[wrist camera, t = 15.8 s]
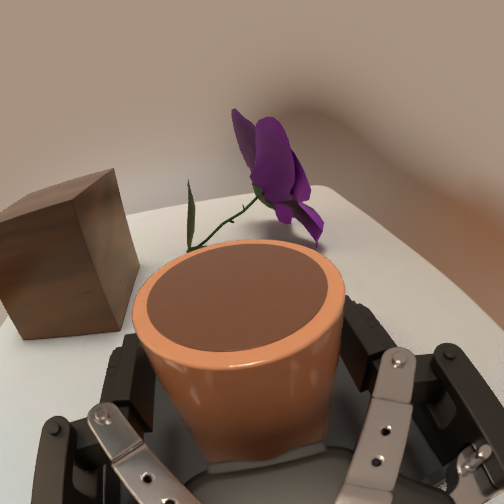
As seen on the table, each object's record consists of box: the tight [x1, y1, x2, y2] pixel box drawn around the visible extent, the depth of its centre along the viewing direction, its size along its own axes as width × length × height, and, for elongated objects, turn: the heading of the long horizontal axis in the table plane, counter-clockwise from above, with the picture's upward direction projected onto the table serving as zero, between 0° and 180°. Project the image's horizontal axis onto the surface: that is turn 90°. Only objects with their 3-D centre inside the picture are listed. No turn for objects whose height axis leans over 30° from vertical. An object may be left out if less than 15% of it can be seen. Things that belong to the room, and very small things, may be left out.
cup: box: [132, 239, 345, 463], centre depth 11 cm, size 6×6×9 cm
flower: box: [186, 109, 324, 253], centre depth 30 cm, size 15×15×14 cm
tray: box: [103, 301, 450, 504], centre depth 13 cm, size 16×13×2 cm
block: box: [0, 168, 140, 340], centre depth 24 cm, size 11×11×11 cm
